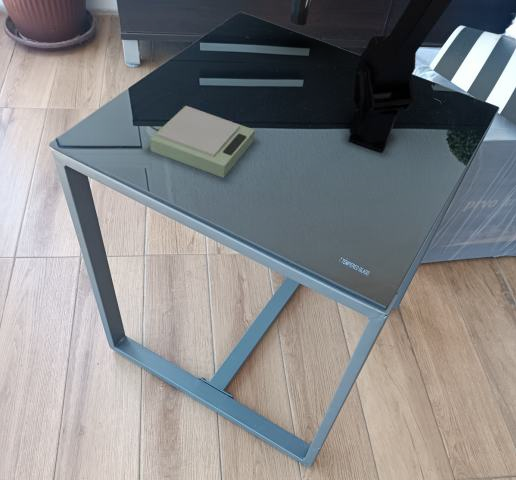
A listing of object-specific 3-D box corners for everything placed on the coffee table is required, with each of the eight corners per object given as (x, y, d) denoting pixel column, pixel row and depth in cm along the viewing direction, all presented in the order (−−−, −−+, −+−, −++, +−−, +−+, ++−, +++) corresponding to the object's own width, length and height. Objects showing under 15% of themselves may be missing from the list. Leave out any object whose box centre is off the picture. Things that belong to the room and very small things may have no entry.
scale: (253, 141, 84) (255, 126, 82) (223, 178, 77) (224, 162, 75) (185, 117, 86) (185, 101, 84) (150, 151, 79) (149, 134, 77)
